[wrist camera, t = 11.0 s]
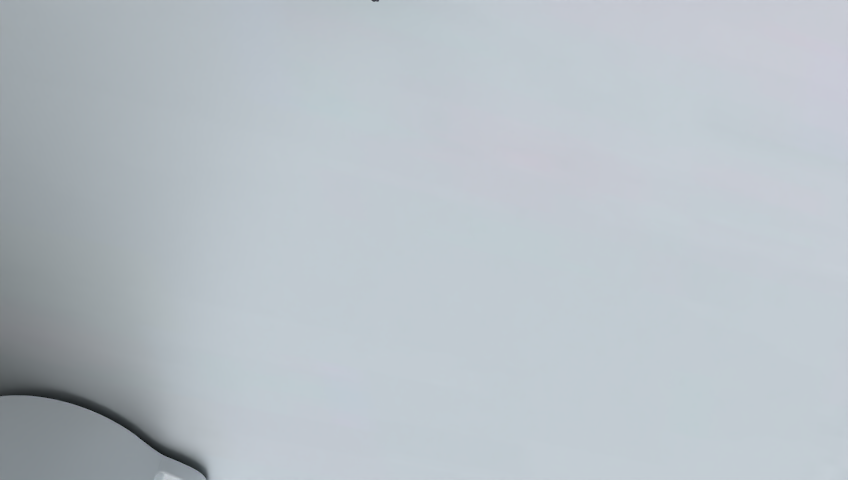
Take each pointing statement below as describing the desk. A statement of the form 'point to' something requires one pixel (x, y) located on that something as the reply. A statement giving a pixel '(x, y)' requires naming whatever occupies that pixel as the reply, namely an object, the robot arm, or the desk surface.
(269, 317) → the desk surface
